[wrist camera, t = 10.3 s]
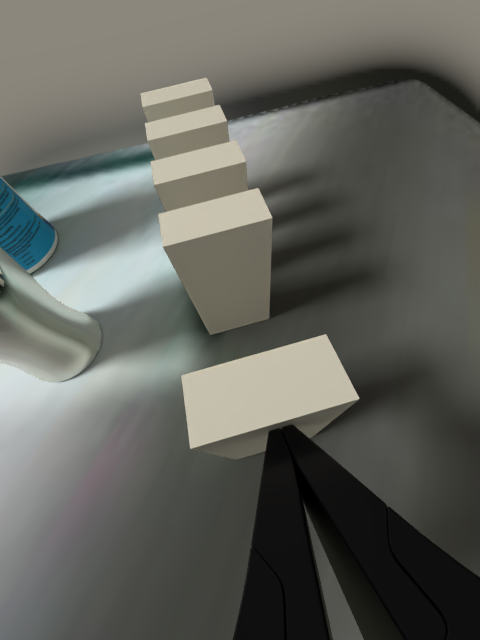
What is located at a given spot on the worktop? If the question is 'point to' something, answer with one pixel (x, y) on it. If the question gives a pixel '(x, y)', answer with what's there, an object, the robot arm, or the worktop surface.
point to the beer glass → (42, 328)
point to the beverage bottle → (24, 230)
